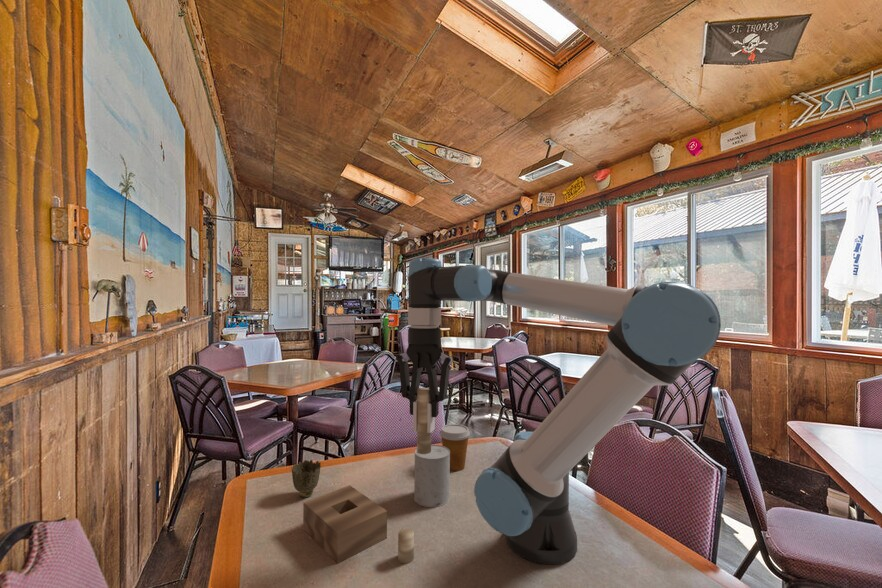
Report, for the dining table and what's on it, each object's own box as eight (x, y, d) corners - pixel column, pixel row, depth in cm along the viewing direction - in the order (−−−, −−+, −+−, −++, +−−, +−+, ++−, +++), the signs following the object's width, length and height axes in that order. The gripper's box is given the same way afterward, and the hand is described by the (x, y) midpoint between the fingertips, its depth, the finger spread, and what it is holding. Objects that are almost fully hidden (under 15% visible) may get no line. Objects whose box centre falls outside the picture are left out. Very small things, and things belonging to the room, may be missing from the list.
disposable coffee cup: (474, 464, 123) (475, 427, 123) (460, 476, 115) (460, 436, 115) (449, 458, 128) (449, 421, 128) (433, 468, 120) (434, 430, 120)
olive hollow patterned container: (284, 499, 101) (285, 468, 101) (303, 486, 108) (303, 457, 108) (308, 504, 98) (308, 473, 98) (326, 491, 105) (326, 461, 105)
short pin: (416, 558, 78) (417, 533, 78) (404, 565, 76) (404, 540, 76) (407, 550, 81) (407, 527, 81) (394, 557, 78) (395, 533, 79)
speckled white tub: (446, 509, 97) (446, 460, 97) (409, 504, 99) (410, 457, 99) (452, 490, 106) (452, 446, 106) (419, 487, 108) (419, 443, 108)
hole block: (386, 538, 85) (387, 510, 85) (337, 563, 77) (338, 533, 77) (349, 509, 96) (349, 485, 96) (303, 528, 88) (303, 502, 88)
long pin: (434, 451, 87) (434, 389, 87) (423, 455, 85) (423, 391, 85) (424, 447, 89) (424, 387, 89) (414, 451, 87) (414, 389, 87)
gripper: (462, 326, 88) (461, 428, 88) (400, 324, 94) (399, 421, 93) (452, 328, 81) (452, 440, 81) (385, 326, 86) (385, 431, 86)
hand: (423, 429), depth 87 cm, fingers closed on long pin, 3 cm apart
